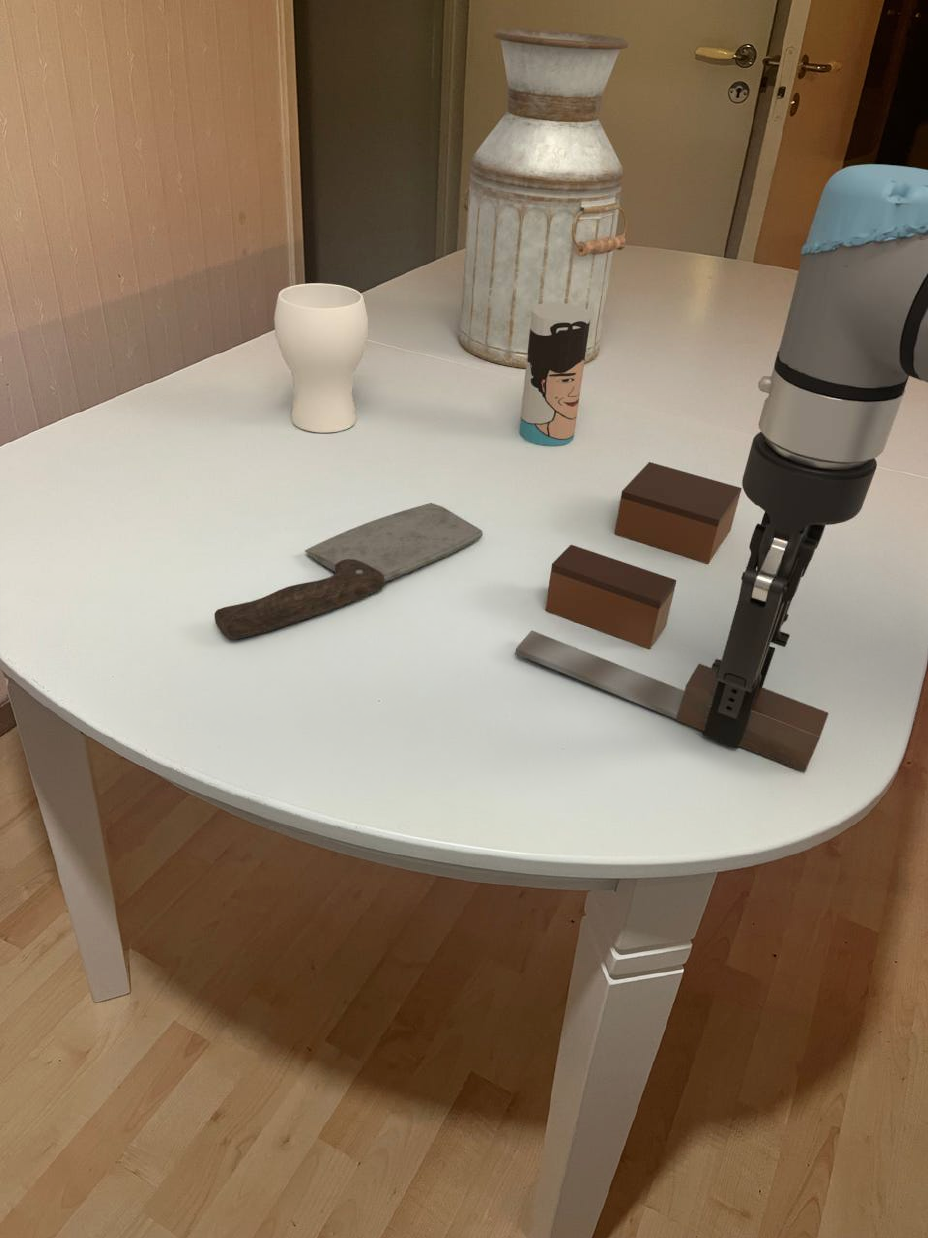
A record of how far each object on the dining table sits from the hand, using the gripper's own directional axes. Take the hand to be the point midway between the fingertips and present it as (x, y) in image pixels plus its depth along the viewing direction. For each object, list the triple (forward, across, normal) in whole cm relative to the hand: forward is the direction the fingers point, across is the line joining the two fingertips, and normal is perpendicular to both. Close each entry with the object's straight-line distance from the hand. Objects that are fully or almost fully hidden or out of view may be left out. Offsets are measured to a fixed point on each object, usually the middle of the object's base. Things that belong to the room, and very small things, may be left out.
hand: (728, 723), depth 71 cm
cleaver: (+1, -2, -36) cm, 36 cm away
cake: (+1, -27, -13) cm, 30 cm away
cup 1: (+1, -28, -58) cm, 65 cm away
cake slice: (+1, -8, -14) cm, 16 cm away
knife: (0, 0, -5) cm, 5 cm away
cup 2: (+1, -41, -34) cm, 54 cm away
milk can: (+1, -69, -50) cm, 85 cm away
